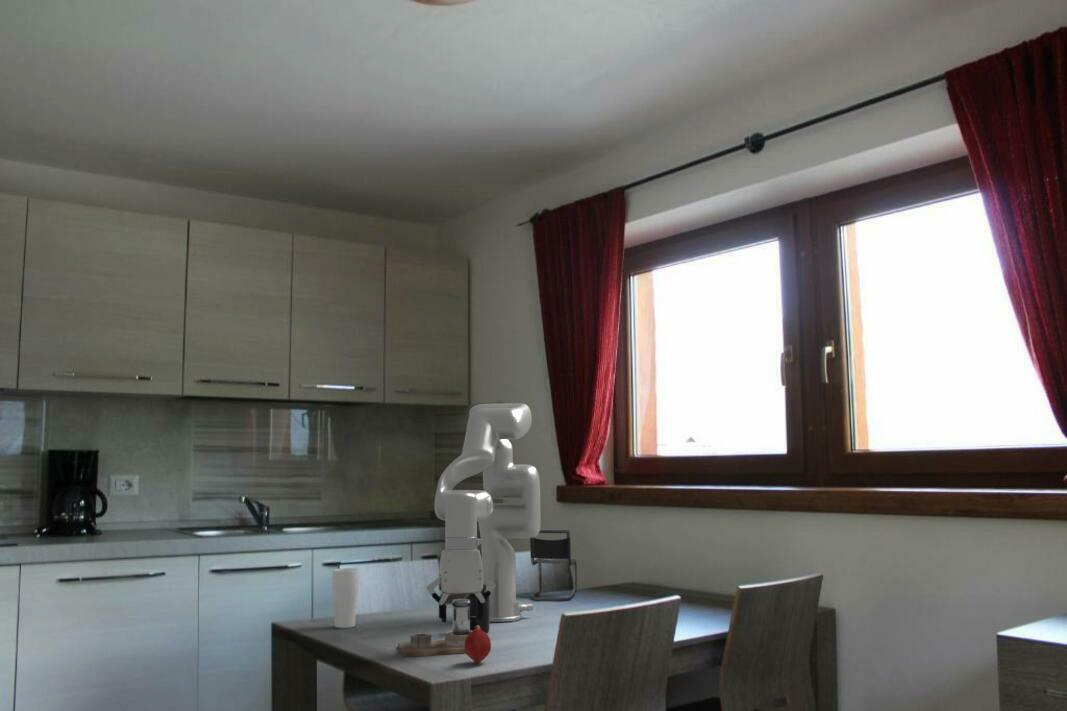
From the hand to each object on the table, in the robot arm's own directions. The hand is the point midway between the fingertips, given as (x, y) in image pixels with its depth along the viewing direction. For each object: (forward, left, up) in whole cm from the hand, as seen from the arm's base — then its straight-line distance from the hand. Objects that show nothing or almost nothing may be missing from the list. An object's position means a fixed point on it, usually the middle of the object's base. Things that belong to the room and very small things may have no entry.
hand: (461, 620), depth 219 cm
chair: (-43, -72, -7) cm, 84 cm away
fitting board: (+5, 0, -6) cm, 8 cm away
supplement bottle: (-7, -19, -7) cm, 21 cm away
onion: (0, +17, -7) cm, 18 cm away
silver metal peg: (0, 0, -5) cm, 5 cm away
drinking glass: (+25, -37, -7) cm, 45 cm away
